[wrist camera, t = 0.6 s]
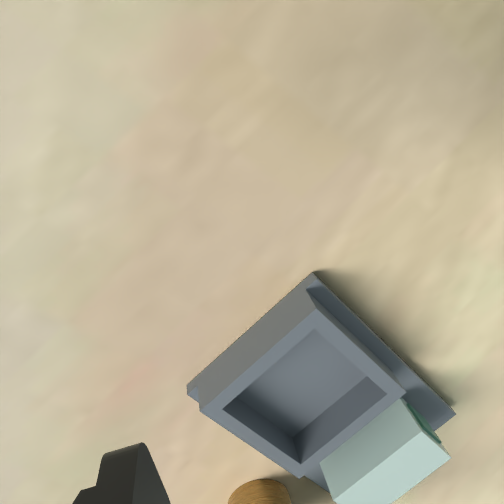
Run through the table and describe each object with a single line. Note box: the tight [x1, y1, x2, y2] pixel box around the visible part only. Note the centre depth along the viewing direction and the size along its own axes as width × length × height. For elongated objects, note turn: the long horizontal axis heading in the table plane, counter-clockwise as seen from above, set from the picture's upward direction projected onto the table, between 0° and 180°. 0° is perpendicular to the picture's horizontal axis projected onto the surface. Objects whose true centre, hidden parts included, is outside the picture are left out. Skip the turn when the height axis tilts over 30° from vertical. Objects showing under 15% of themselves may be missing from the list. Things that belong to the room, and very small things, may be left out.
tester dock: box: [187, 272, 456, 504], centre depth 33 cm, size 18×12×5 cm, turn 43°
